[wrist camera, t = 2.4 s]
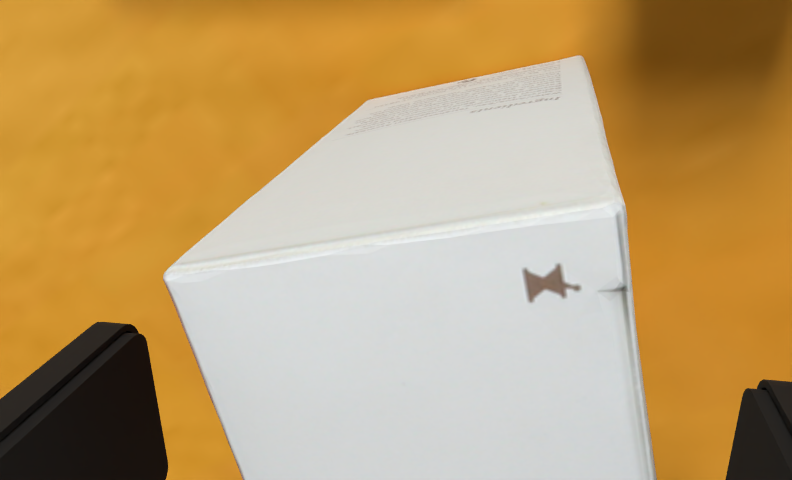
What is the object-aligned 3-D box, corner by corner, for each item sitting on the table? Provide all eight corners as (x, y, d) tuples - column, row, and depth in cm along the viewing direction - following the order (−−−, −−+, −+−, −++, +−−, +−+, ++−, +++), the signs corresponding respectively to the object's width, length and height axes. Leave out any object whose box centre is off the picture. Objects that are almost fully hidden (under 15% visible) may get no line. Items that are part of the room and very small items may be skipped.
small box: (365, 96, 18) (141, 258, 8) (588, 49, 16) (627, 184, 7) (431, 362, 20) (319, 717, 11) (628, 344, 19) (698, 743, 9)
